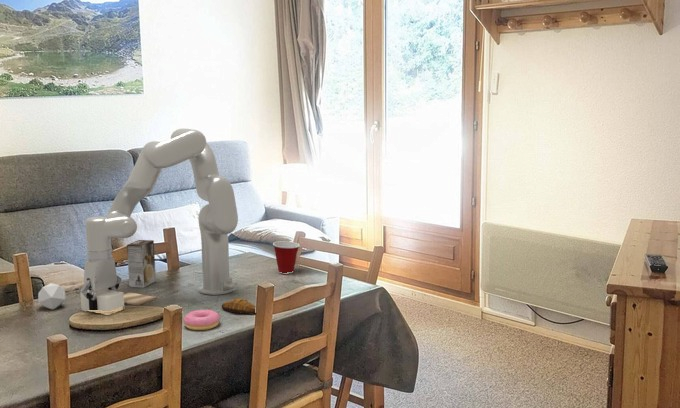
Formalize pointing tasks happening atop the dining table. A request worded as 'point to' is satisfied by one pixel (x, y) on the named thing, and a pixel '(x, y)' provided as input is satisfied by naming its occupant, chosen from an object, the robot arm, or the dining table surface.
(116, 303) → the white rounded block
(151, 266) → the coffee box
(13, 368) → the dining table surface
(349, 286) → the dining table surface
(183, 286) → the dining table surface
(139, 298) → the tan flat pointed slab
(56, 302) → the die
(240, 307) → the croissant
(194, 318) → the doughnut
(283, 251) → the plastic cup
